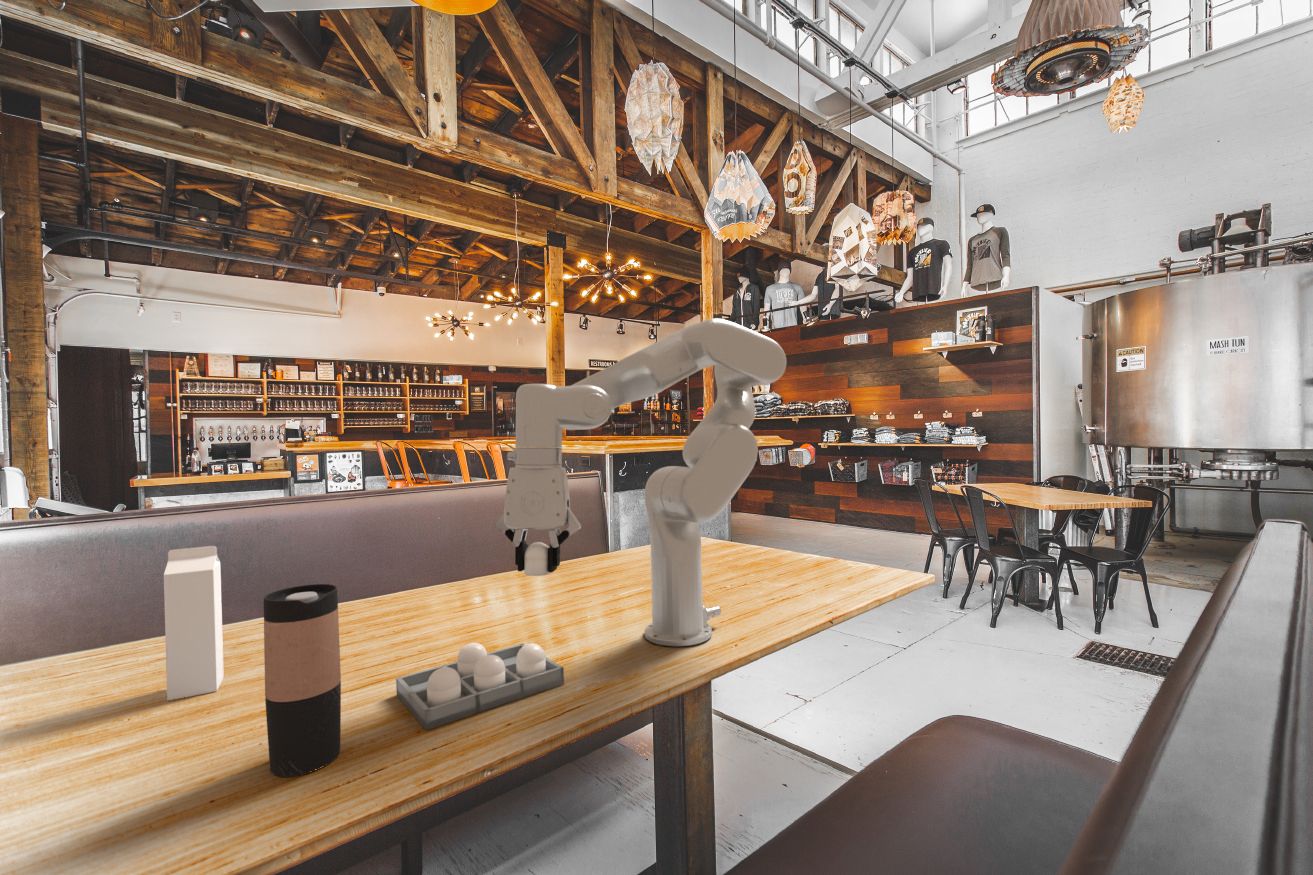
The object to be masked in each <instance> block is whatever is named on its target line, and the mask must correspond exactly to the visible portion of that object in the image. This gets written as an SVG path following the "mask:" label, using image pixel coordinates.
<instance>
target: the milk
mask: <svg viewBox="0 0 1313 875" xmlns="http://www.w3.org/2000/svg"><path fill="white" fill-rule="evenodd" d="M221 566H222V565H221V561H220V558H219V557H218V548H217V546H215V545H208V546H198V547H189V548H188V547H187V548H186V547H185V548H178V549H176V548H175V549H169V551H168V552H167V563H166V566H165V568H164V569H165V570H164V572H163V592H164V593H163V595H164V596H163V598H164V632H165V633H164V634H165V638H164V639H165V660H166V661H165V664H166V666H165V667H166V668H165V669H166V698H167V700H166V701H168V700H170V701H174V699H175V700H178V699H179V698H180V699H183V698H184V697H185V698H190V697H195V696H199V695H200V696H201V695H206V694H210V693H216V692H218V690H219V687H221V686H220V685H221V683H222V682H223V679H224V677H225V676H224V675H225V673H224V643H223V641H224V640H223V638H224V637H223V608H222V606H223V605H222V573H221V572H222V571H221V570H222V568H221Z"/></svg>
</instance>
